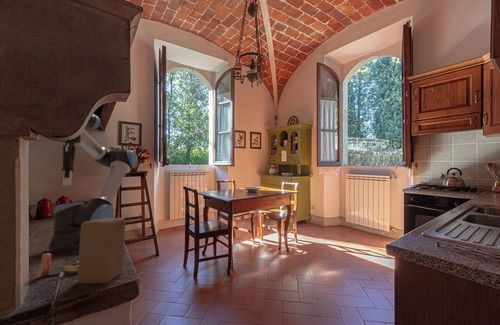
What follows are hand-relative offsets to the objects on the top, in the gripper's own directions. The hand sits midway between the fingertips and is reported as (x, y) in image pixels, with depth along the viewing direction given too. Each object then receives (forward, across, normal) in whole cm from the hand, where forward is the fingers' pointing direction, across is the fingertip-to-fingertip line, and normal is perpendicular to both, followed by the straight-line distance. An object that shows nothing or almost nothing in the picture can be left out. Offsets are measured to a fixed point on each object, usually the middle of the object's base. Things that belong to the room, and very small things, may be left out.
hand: (66, 185), depth 102 cm
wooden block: (+33, +34, +17) cm, 50 cm away
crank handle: (+31, +23, +5) cm, 39 cm away
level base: (+32, +23, +8) cm, 41 cm away
